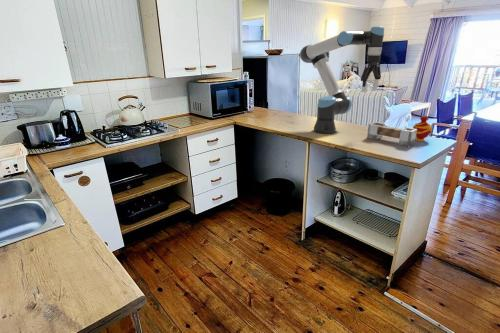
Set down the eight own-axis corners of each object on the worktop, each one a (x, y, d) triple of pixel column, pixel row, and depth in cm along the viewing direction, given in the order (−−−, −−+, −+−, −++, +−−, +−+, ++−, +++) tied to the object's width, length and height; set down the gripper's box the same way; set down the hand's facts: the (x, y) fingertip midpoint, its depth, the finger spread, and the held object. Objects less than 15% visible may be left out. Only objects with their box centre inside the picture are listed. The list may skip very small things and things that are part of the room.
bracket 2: (398, 144, 175) (400, 129, 171) (404, 141, 180) (407, 127, 176) (408, 146, 170) (411, 131, 167) (414, 143, 175) (417, 129, 172)
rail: (374, 133, 186) (375, 126, 184) (377, 132, 189) (378, 125, 187) (407, 140, 172) (408, 131, 171) (409, 138, 175) (411, 130, 173)
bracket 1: (382, 137, 190) (384, 123, 186) (375, 139, 184) (377, 125, 181) (373, 135, 194) (375, 122, 190) (366, 137, 189) (368, 124, 185)
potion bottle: (419, 143, 176) (424, 118, 171) (406, 138, 186) (411, 115, 180) (433, 141, 179) (439, 117, 173) (420, 137, 188) (425, 114, 183)
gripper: (369, 55, 166) (364, 93, 174) (389, 54, 182) (384, 89, 189) (357, 55, 172) (353, 92, 180) (378, 54, 187) (373, 88, 195)
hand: (369, 91), depth 185 cm, fingers open, 13 cm apart
